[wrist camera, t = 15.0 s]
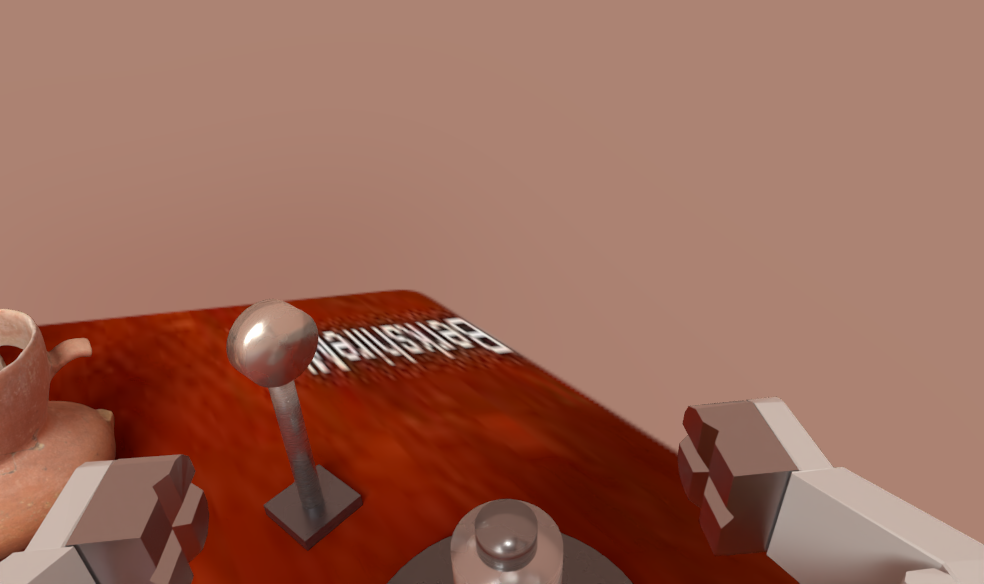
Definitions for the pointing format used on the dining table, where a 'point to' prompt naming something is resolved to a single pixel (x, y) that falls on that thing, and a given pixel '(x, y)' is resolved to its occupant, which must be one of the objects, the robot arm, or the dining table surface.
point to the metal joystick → (290, 416)
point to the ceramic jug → (40, 430)
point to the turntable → (584, 571)
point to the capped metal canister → (507, 545)
